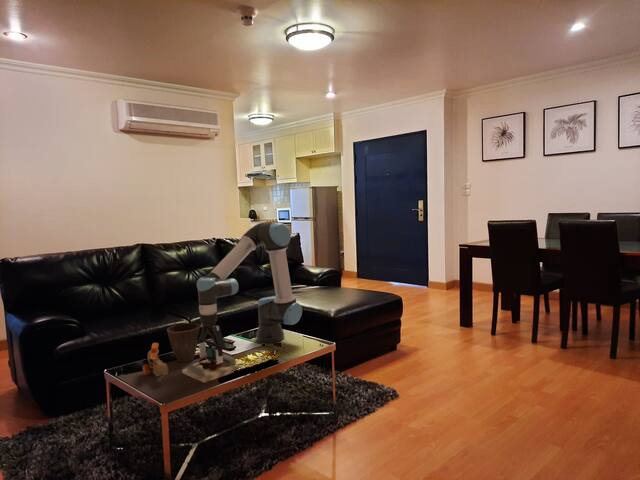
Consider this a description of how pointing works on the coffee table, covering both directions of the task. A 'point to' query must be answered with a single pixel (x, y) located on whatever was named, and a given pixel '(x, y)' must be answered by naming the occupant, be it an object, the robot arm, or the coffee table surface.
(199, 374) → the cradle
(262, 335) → the robot arm
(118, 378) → the coffee table surface
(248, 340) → the coffee table surface
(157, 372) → the toy helicopter
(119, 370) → the coffee table surface
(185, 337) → the plant pot
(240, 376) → the coffee table surface
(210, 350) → the binoculars
